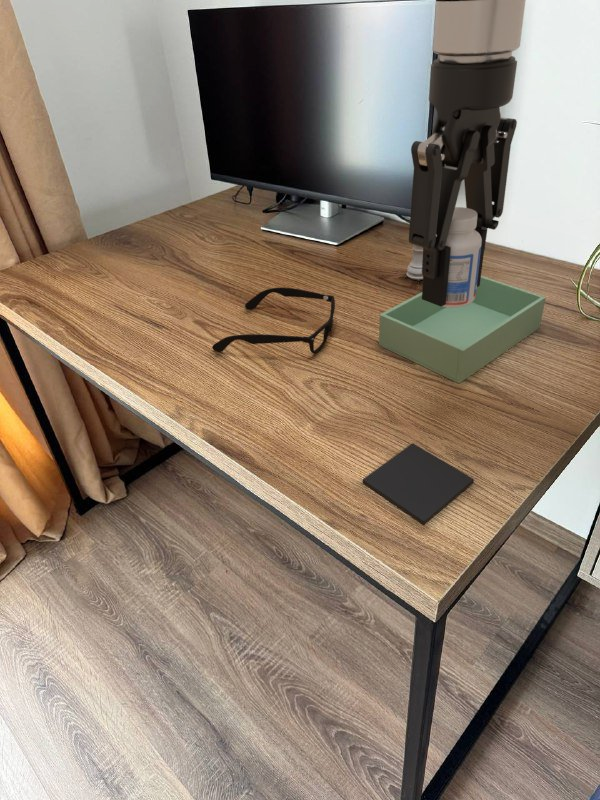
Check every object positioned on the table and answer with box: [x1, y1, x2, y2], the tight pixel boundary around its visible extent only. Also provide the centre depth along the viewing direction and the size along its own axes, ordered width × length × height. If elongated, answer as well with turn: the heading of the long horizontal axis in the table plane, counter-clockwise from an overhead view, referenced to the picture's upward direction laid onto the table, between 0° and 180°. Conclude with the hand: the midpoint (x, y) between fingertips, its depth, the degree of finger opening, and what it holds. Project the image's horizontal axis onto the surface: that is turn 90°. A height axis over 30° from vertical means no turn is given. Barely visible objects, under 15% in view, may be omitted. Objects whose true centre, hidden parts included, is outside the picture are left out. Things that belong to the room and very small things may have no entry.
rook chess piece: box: [405, 244, 423, 281], centre depth 109 cm, size 4×4×8 cm
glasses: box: [211, 287, 336, 355], centre depth 96 cm, size 17×18×5 cm
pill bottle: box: [436, 206, 482, 308], centre depth 64 cm, size 6×5×10 cm
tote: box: [378, 275, 547, 384], centre depth 91 cm, size 15×21×6 cm
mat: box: [362, 443, 475, 526], centre depth 68 cm, size 9×9×1 cm
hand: (451, 292), depth 66 cm, fingers closed on pill bottle, 5 cm apart
